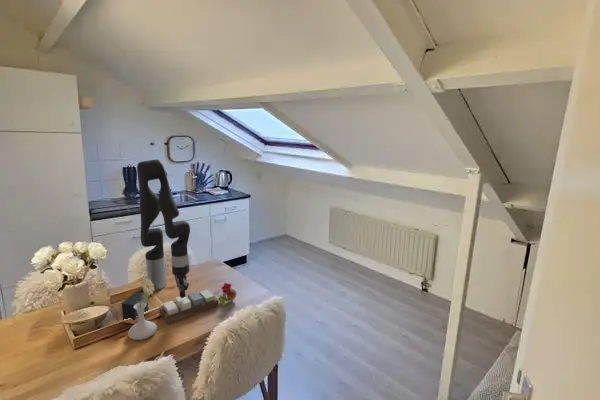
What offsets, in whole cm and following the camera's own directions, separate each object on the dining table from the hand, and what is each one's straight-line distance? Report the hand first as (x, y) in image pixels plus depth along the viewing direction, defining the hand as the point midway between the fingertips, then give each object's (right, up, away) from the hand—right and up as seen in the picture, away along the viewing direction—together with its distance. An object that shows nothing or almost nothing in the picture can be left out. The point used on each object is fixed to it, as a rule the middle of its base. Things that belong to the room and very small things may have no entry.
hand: (182, 297), depth 160 cm
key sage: (+9, -5, +9) cm, 14 cm away
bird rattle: (+19, -6, +12) cm, 23 cm away
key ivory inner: (0, -6, +2) cm, 6 cm away
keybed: (+2, -8, +4) cm, 9 cm away
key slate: (+5, -5, +5) cm, 9 cm away
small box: (-21, -9, -3) cm, 23 cm away
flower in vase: (-12, -12, -13) cm, 22 cm away
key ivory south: (-5, -7, -2) cm, 9 cm away
